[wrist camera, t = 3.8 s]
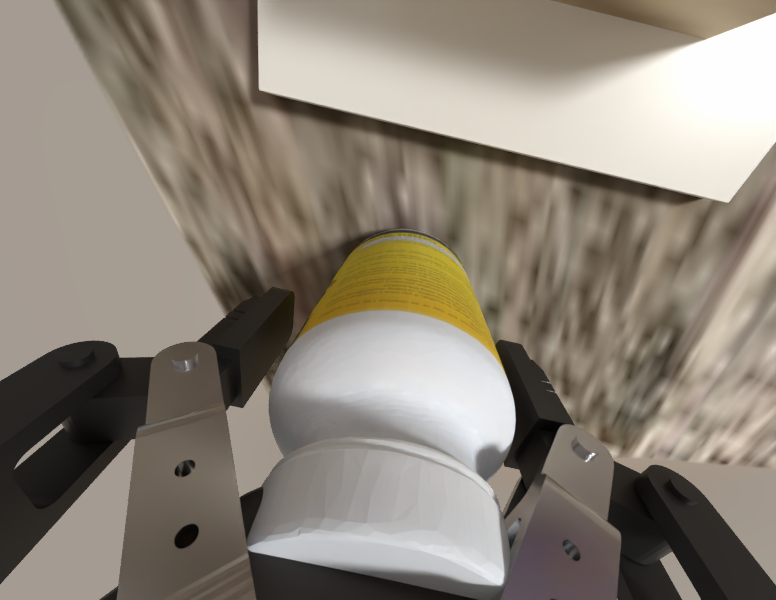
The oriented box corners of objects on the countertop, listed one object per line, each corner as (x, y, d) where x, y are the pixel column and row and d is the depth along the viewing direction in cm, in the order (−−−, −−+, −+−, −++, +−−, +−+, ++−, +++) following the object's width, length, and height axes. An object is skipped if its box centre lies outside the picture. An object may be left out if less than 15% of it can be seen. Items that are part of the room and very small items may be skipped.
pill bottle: (355, 207, 13) (127, 426, 3) (488, 247, 13) (724, 577, 3) (332, 320, 16) (183, 619, 6) (439, 351, 16) (476, 684, 6)
